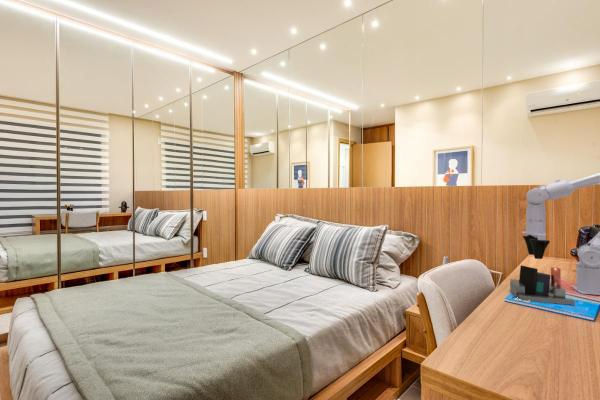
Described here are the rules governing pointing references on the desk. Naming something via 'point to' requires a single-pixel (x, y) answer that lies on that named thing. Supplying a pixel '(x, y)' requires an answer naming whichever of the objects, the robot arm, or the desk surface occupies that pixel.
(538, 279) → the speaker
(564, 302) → the vise body
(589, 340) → the desk surface
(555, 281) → the jaw slide
